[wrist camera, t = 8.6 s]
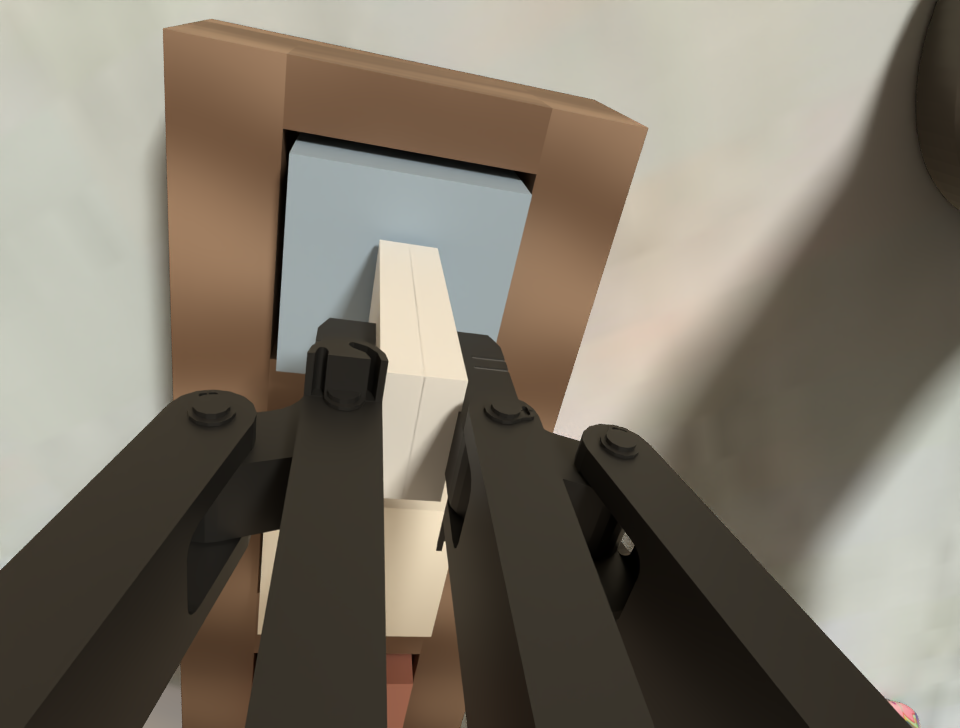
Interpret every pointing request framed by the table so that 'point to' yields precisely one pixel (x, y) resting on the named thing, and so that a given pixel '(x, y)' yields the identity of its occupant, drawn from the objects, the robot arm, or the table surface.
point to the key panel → (259, 258)
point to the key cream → (396, 566)
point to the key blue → (391, 234)
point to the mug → (906, 713)
